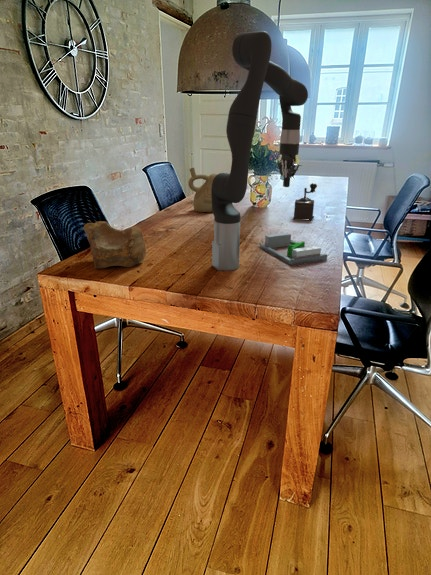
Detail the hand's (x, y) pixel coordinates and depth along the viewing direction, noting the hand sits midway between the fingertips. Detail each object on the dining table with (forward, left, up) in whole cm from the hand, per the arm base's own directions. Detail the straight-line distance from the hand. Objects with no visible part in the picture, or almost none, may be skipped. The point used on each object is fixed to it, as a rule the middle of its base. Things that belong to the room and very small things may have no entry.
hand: (286, 186), depth 156 cm
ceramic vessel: (-6, +76, -25) cm, 80 cm away
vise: (-3, -13, -25) cm, 28 cm away
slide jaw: (-3, -2, -25) cm, 25 cm away
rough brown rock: (-73, +2, -25) cm, 77 cm away
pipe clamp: (-3, -14, -25) cm, 29 cm away
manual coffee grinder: (+40, +40, -25) cm, 61 cm away
